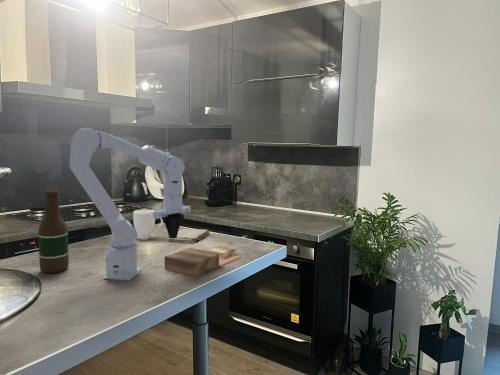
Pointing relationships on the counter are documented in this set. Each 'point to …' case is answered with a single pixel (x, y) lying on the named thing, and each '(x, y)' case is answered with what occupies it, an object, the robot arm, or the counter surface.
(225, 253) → the tile
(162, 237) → the counter surface
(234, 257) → the mat
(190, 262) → the brown flat block
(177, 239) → the washcloth
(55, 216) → the beer bottle
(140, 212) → the mug
